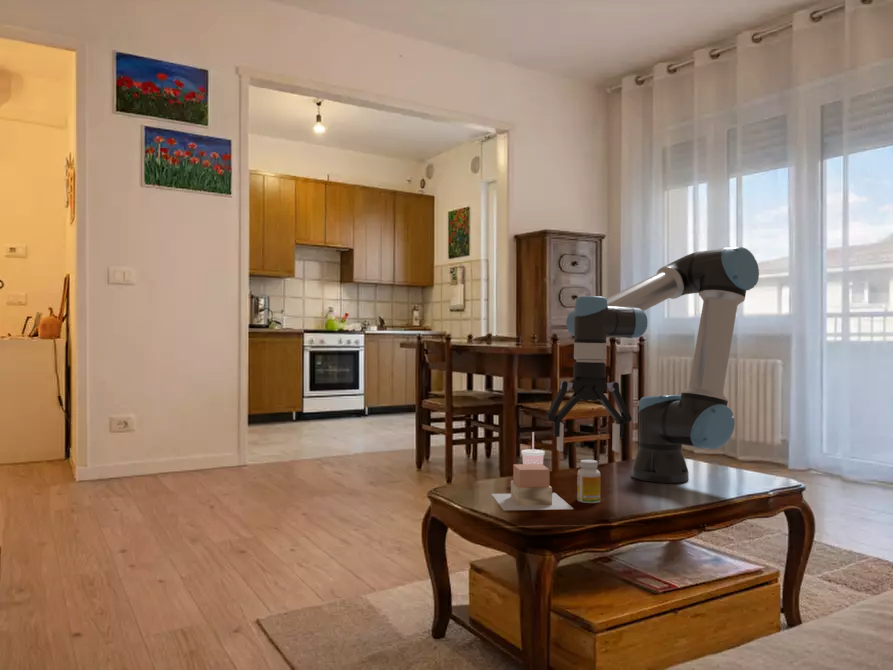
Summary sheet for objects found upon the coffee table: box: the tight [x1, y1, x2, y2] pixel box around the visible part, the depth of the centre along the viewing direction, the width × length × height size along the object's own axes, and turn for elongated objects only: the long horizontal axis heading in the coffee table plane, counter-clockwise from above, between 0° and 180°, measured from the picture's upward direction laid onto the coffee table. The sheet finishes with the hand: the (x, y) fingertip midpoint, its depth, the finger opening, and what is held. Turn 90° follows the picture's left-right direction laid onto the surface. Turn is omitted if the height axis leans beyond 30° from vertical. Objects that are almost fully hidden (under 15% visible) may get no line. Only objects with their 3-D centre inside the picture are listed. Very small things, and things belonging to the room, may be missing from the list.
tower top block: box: [512, 463, 551, 487], centre depth 157 cm, size 7×7×4 cm
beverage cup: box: [521, 431, 546, 465], centre depth 177 cm, size 6×6×14 cm
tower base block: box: [510, 480, 553, 506], centre depth 157 cm, size 8×8×4 cm
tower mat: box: [491, 492, 575, 511], centre depth 157 cm, size 16×16×1 cm
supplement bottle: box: [576, 459, 601, 504], centre depth 159 cm, size 5×5×10 cm
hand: (587, 451), depth 159 cm, fingers open, 13 cm apart
